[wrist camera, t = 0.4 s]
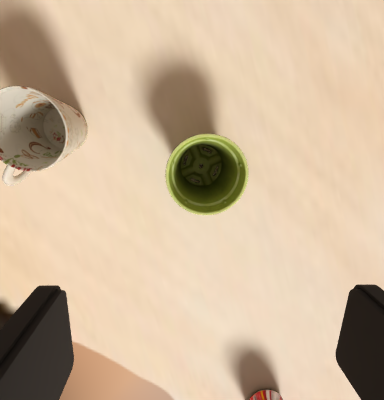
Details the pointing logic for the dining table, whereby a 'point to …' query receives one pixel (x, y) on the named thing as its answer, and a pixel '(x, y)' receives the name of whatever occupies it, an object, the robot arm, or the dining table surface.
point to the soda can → (266, 395)
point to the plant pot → (206, 174)
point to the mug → (36, 131)
